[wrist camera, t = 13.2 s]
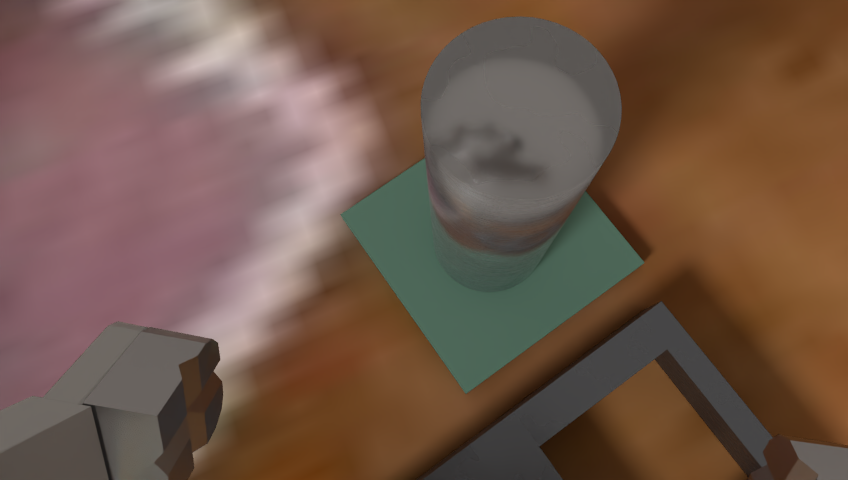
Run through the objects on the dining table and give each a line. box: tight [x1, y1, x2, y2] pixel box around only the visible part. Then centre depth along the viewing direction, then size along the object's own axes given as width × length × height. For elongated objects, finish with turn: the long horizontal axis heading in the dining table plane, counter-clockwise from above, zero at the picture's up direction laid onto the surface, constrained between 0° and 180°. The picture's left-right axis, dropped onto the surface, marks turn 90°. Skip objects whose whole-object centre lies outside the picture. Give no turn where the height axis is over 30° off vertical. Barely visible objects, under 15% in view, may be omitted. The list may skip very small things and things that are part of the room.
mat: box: [341, 158, 644, 393], centre depth 26 cm, size 9×9×1 cm
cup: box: [421, 17, 622, 292], centre depth 20 cm, size 5×5×12 cm
